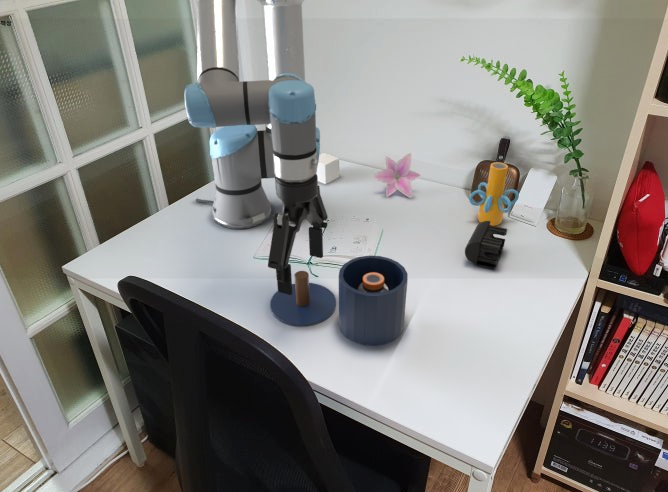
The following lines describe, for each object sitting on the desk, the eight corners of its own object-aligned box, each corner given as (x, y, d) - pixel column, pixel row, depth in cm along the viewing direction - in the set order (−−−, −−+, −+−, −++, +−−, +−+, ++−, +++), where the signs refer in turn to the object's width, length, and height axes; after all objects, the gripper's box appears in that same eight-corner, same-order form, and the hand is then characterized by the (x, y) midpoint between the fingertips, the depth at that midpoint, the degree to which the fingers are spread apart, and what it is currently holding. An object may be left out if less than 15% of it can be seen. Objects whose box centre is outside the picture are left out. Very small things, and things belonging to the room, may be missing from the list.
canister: (328, 336, 109) (327, 285, 101) (353, 299, 118) (354, 249, 110) (390, 355, 104) (394, 302, 97) (411, 315, 113) (416, 264, 106)
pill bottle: (387, 315, 113) (389, 269, 106) (387, 335, 108) (389, 288, 101) (357, 313, 113) (358, 268, 107) (356, 333, 108) (356, 286, 102)
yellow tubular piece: (502, 236, 136) (513, 180, 127) (461, 225, 141) (469, 170, 132) (517, 215, 145) (528, 160, 136) (478, 205, 149) (486, 152, 140)
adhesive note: (310, 178, 164) (309, 159, 161) (324, 171, 168) (323, 152, 164) (325, 184, 161) (325, 164, 157) (339, 177, 164) (339, 158, 161)
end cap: (473, 242, 135) (477, 217, 131) (503, 249, 132) (508, 224, 128) (462, 264, 127) (466, 238, 123) (494, 271, 125) (499, 246, 121)
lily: (366, 193, 158) (371, 173, 149) (384, 164, 162) (390, 143, 154) (404, 213, 156) (411, 194, 147) (421, 182, 161) (430, 162, 152)
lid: (258, 317, 114) (254, 285, 109) (289, 281, 124) (287, 249, 119) (318, 335, 109) (317, 302, 104) (346, 296, 119) (346, 264, 114)
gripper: (280, 210, 88) (288, 314, 100) (343, 151, 106) (343, 246, 119) (240, 201, 91) (252, 304, 103) (308, 145, 109) (312, 238, 121)
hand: (301, 273), depth 111 cm, fingers open, 13 cm apart
